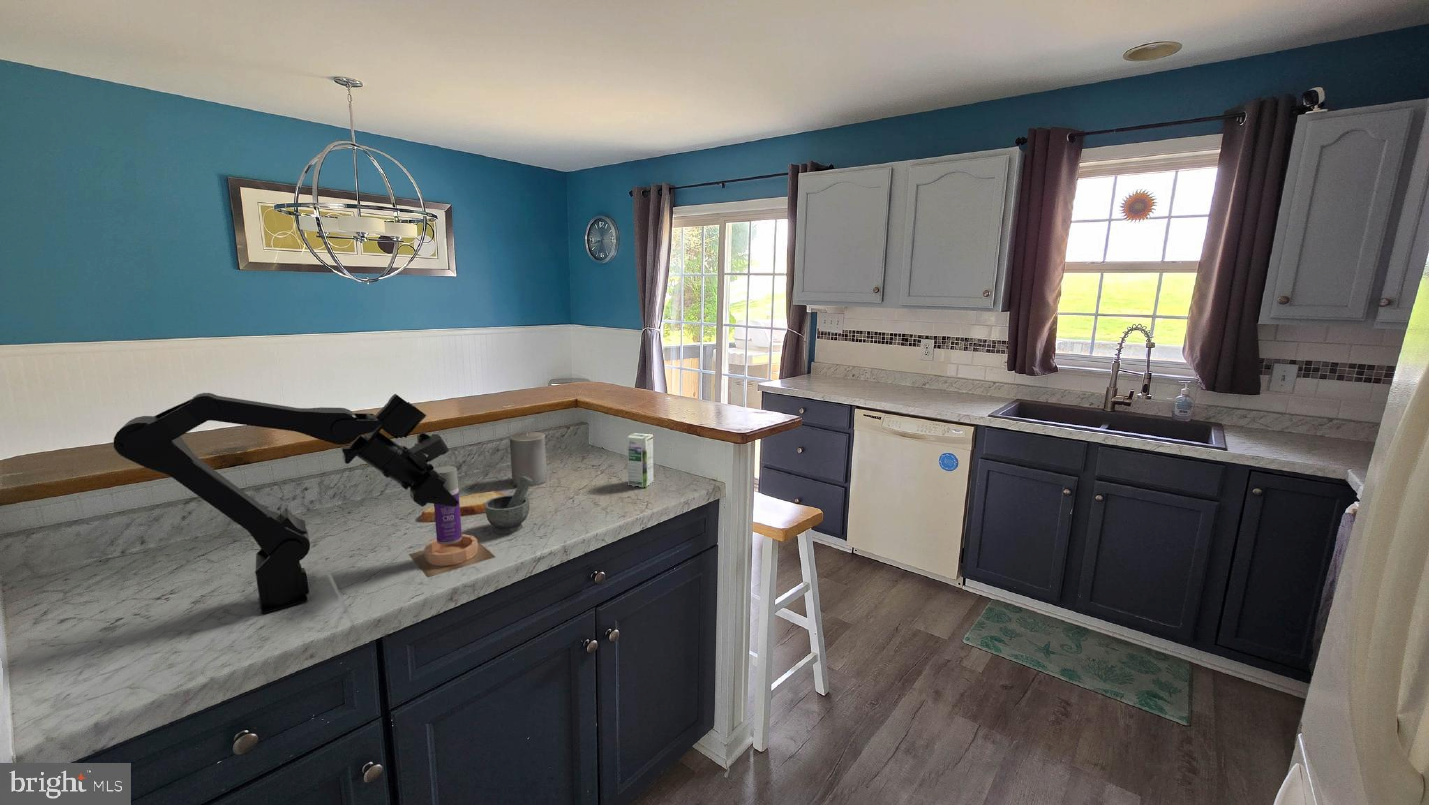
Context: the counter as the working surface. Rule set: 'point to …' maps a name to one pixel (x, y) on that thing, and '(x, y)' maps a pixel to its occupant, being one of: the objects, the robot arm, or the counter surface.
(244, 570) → the counter surface
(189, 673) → the counter surface
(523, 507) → the mortar and pestle
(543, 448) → the pillar candle
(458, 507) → the container
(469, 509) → the bread slice
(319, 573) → the counter surface
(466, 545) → the terracotta dish
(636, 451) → the syrup box
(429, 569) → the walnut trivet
